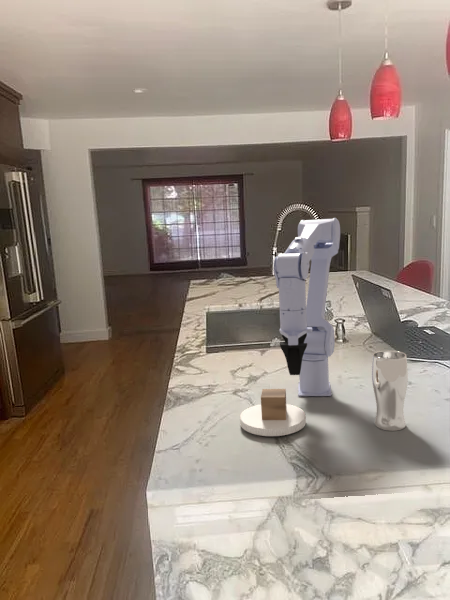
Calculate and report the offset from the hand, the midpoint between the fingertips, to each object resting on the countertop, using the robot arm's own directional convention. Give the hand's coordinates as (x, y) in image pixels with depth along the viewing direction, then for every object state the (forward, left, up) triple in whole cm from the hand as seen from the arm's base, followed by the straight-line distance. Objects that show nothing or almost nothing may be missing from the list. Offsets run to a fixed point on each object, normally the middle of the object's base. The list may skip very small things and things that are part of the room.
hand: (295, 369), depth 110 cm
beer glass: (+6, +19, -11) cm, 23 cm away
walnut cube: (+6, -5, -8) cm, 11 cm away
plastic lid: (+6, -5, -11) cm, 13 cm away
